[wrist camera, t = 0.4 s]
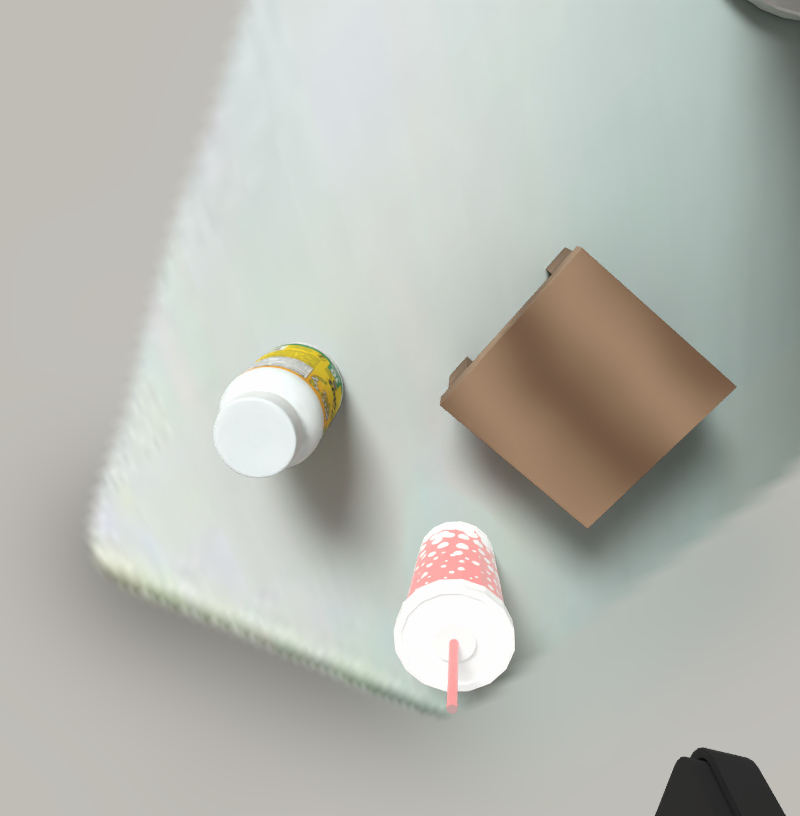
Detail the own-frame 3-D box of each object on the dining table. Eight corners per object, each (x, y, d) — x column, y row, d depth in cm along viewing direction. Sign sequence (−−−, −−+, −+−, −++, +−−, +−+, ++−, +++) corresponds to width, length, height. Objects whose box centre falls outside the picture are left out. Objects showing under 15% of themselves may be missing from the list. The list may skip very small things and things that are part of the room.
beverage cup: (413, 502, 44) (390, 637, 30) (513, 517, 43) (535, 660, 30) (401, 590, 45) (374, 754, 32) (497, 605, 45) (510, 777, 32)
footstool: (565, 240, 38) (582, 248, 33) (697, 359, 40) (736, 386, 34) (443, 376, 41) (440, 405, 35) (571, 484, 42) (587, 528, 37)
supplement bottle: (266, 329, 41) (209, 367, 32) (354, 355, 41) (323, 399, 32) (248, 415, 43) (188, 474, 34) (333, 439, 43) (297, 504, 34)
